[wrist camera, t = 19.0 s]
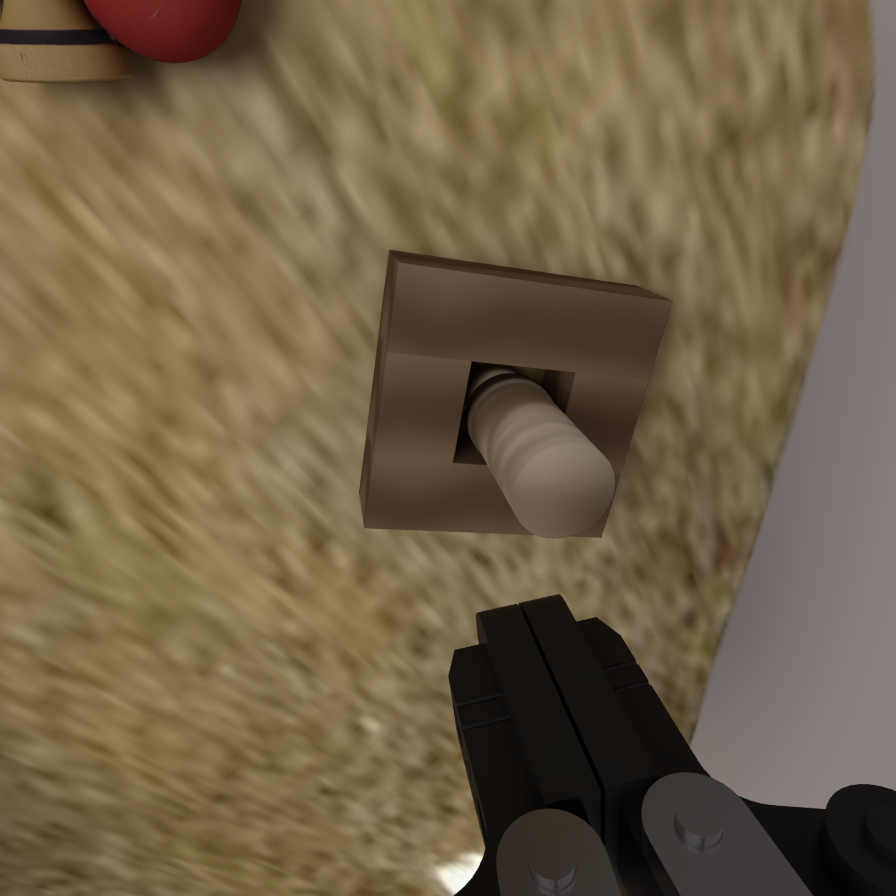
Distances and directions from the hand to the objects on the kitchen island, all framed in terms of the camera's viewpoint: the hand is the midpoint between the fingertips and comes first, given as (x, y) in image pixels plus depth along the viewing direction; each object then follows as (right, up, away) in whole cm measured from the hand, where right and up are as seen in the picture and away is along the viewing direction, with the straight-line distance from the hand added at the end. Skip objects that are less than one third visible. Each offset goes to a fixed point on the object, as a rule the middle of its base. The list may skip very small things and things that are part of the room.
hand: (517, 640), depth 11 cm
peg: (+1, +7, +26) cm, 26 cm away
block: (+1, +7, +26) cm, 26 cm away
